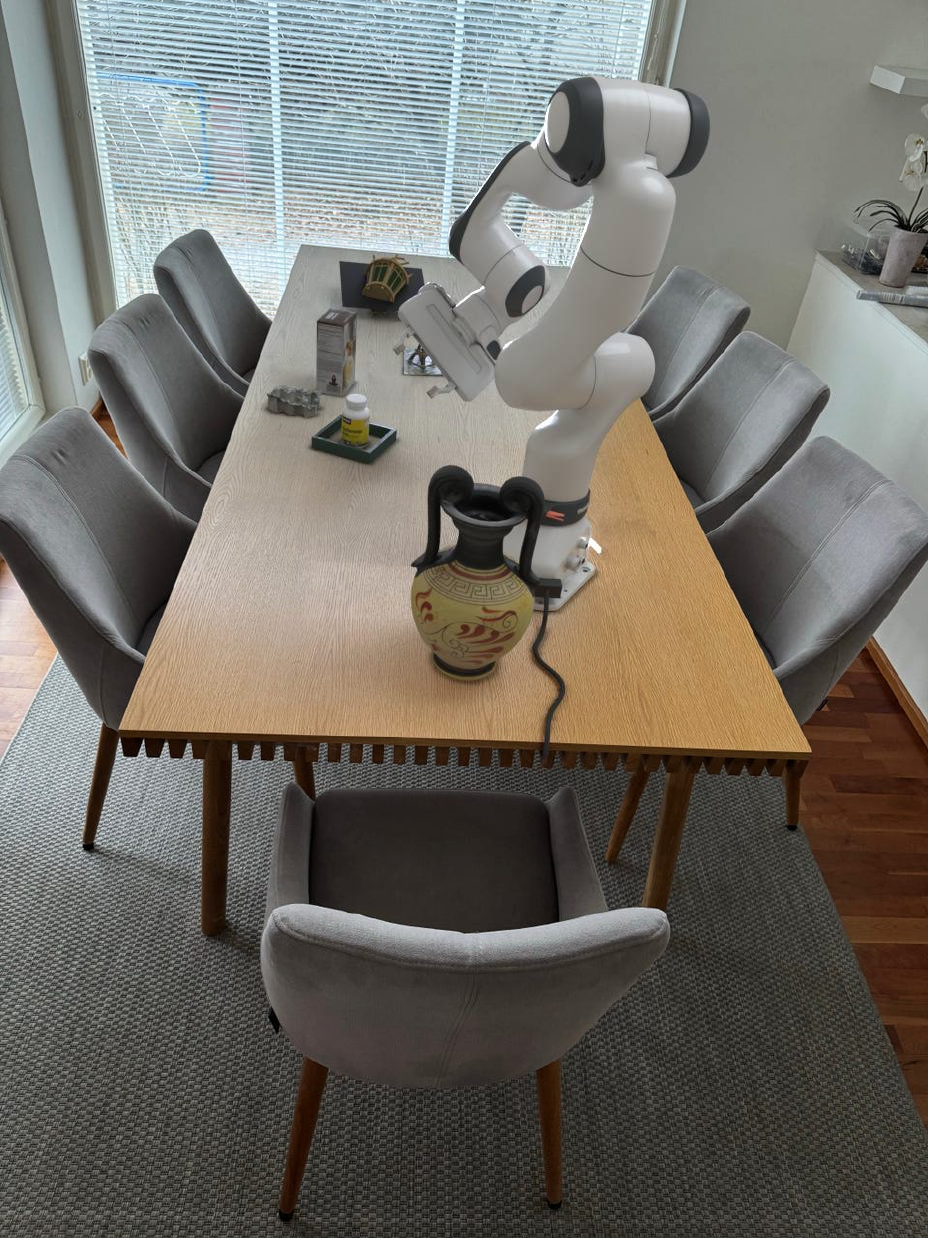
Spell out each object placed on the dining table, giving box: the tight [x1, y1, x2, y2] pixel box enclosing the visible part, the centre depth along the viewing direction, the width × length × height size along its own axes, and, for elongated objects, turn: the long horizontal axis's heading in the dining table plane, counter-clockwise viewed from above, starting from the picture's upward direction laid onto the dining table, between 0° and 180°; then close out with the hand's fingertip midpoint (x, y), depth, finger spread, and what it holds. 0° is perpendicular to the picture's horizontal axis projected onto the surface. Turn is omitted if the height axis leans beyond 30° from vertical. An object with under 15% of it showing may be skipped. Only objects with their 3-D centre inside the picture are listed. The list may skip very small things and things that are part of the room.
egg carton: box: [266, 384, 322, 418], centre depth 196 cm, size 11×8×4 cm
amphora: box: [410, 464, 545, 682], centre depth 126 cm, size 18×17×30 cm
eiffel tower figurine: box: [403, 343, 443, 376], centre depth 222 cm, size 15×10×13 cm
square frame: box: [311, 413, 398, 465], centre depth 186 cm, size 13×13×2 cm
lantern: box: [338, 253, 426, 315], centre depth 255 cm, size 14×23×30 cm
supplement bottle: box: [340, 393, 371, 449], centre depth 184 cm, size 5×5×10 cm
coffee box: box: [315, 308, 358, 397], centre depth 204 cm, size 9×6×16 cm
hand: (412, 373), depth 163 cm, fingers open, 8 cm apart
